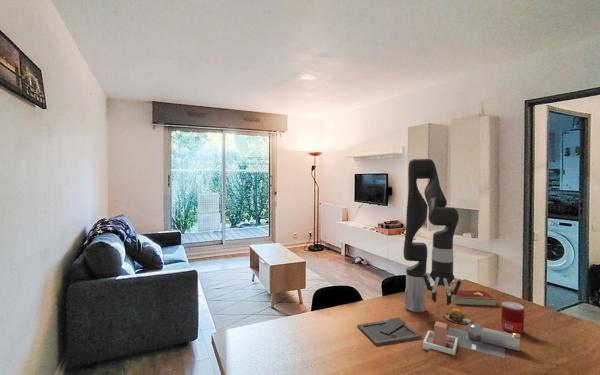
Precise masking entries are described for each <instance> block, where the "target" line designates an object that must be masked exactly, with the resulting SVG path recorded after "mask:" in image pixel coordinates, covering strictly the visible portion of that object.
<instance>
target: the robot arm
mask: <svg viewBox="0 0 600 375" xmlns="http://www.w3.org/2000/svg"><path fill="white" fill-rule="evenodd" d="M407 170H408V172H407V174H408V175H407V178H408V179H407V181H408V184H407V186H408V189H407V192H408V193H407V202H406V220H405V226H406V227H405V236H404V243H403V258H404V260H405V261H407V262H408V261H409V262H417V263H415V264H413V265H411V266H408V267H407V268H406V272H405V274H406V276H405V290H404V309H406V310H408V311H410V312H414V313H424V312H425V311H426V308H427V307H426V305H427V304H426V300H427V298H426V297H427V296H426V295H427V294H426V293H427V290H428V291H430V292H431V299H432V301H433V303H436V302H437V289H438V286H443V287H444V288H445V291H446V290H447V296H446V305H447V306H449V305H450V304H451V303H452V300H451V295H456V294H457V291H458V290H460V286H461V284H462V282H463V281H462V279H461V278H457V277H455V275H454V258H455V257H454V245H453V244H454V236H455V232H456V229H457V226H458V223H459V220H460V219H459V218H460V215H459V212H458V210H457V209H456V207H448V206H447V205H448V204H447V203H448V202H447V199H446V196H445V194H444V192H443V190H442V188H441V184H440V180H439V174H438V171H437V167H436V164H435V162H434V160H433V159H431V158H412V159H410V160H409V162H408V169H407ZM425 179H426V180H427V179H428V180H429V181H428V183H427V185H426V186H425V188H424V197H425V198H424V197H423V195H422V193H421V192H420V189H419V188H418V183H417V181H418V180H425ZM427 217H428V218H427ZM427 219H428V221H429V223H430V224H431V225H433V226H438V227H439V226H442V227H443V226H445V227H444V228H443V229H442V230H438V231H434V232H433V235H432V249H431V272H430V273H427V261H428V246H427V244H426V243H424V242H419V241H417V242H415V241H413V240H414V238H415V236H416V234H417V233H418V232H419V230H421V228H422V227H423V226H424V225H425V223H426V221H427ZM430 279H432V280H433V282H434V283H433V286H432V285H431V281H430ZM452 282H454V285H455V286H454V288H453V289H452V288H451V284H452ZM451 290H453V291H451Z"/></svg>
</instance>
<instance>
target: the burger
mask: <svg viewBox="0 0 600 375" xmlns="http://www.w3.org/2000/svg"><path fill="white" fill-rule="evenodd" d="M442 318H443V319H445V320H446V321H448V322H451V323H453V324H458V325H468V324H469V323H473V319H472V318H471V317H470V316H468V315H466V313H465V314H464V313H463V312H462V310H461V309H459V308H457V307H454V308H452V309H451V310H450V311H449V312H448V311H447V312H445V313H443V314H442Z"/></svg>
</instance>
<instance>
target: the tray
mask: <svg viewBox="0 0 600 375" xmlns="http://www.w3.org/2000/svg"><path fill="white" fill-rule="evenodd" d="M447 340H450V341H453V342H454V345H452V346H453V347H452V348H449V347H447V346H446V347H443V346H439V345H436V344H434V330H427V332H426V335H425V337H424V339H423V342H422V349H423V350H426V351H430V350H434V351H437V352H442V353H446V354H449V355H453V356H456V353H457V348H458V346H457V344H458V338H457V337H453V336H449V335H447Z"/></svg>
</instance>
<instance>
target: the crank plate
mask: <svg viewBox="0 0 600 375" xmlns="http://www.w3.org/2000/svg"><path fill="white" fill-rule="evenodd" d="M447 335H449V336H453V337H457V338H458V344H457V347H461V348H462V349H463V348H464V349H468V350H471V351H474V352H479V353H483V354H487V355H490V356H493V357H497V358H502V359H506V348H505V347H501V346H497V345H493V344H489V343H485V342H475V341H472V340H470V339H469V338H468V330H464V329H460V328H455V327H452V326H448V328H447ZM447 344H449V345H452V346H454V342H453V341H450V340H447Z"/></svg>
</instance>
